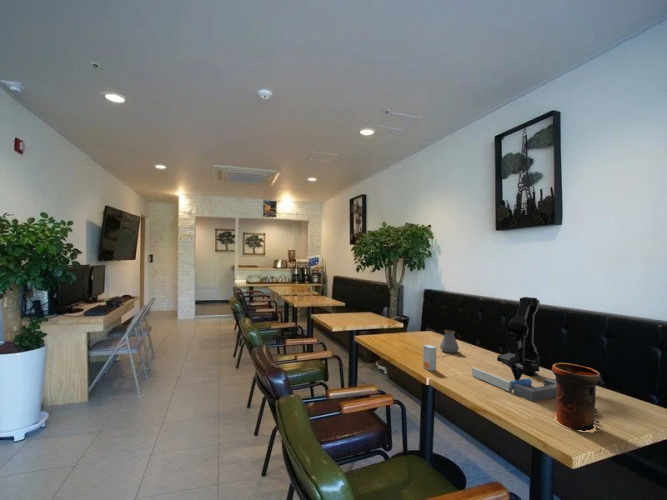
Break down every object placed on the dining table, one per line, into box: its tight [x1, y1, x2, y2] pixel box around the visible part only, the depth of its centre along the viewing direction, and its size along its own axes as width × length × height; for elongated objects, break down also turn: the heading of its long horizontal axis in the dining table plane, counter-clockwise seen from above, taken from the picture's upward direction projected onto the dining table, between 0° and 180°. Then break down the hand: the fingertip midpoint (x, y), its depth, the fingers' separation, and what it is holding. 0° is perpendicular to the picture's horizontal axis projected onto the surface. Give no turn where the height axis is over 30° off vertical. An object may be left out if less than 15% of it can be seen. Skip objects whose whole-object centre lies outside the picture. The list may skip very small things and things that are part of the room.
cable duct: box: [513, 378, 557, 403], centre depth 150 cm, size 22×9×4 cm, turn 112°
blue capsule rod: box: [510, 378, 533, 389], centre depth 159 cm, size 12×3×3 cm, turn 112°
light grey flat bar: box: [471, 366, 513, 393], centre depth 161 cm, size 23×1×4 cm, turn 22°
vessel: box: [550, 362, 602, 431], centre depth 123 cm, size 14×14×20 cm
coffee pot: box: [426, 327, 460, 354], centre depth 216 cm, size 21×12×15 cm, turn 98°
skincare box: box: [422, 344, 437, 372], centre depth 180 cm, size 6×4×12 cm
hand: (516, 381), depth 161 cm, fingers closed
